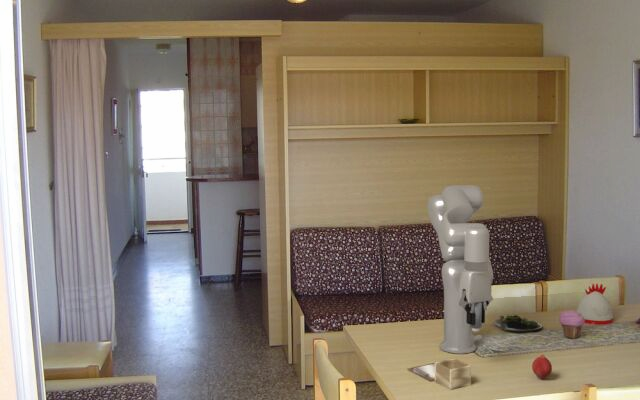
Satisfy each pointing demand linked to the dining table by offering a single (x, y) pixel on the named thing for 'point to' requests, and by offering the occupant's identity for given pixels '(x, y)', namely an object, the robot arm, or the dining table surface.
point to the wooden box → (452, 374)
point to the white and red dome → (595, 307)
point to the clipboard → (425, 371)
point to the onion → (542, 367)
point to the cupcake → (571, 323)
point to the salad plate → (518, 324)
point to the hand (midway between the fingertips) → (475, 322)
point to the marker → (477, 317)
